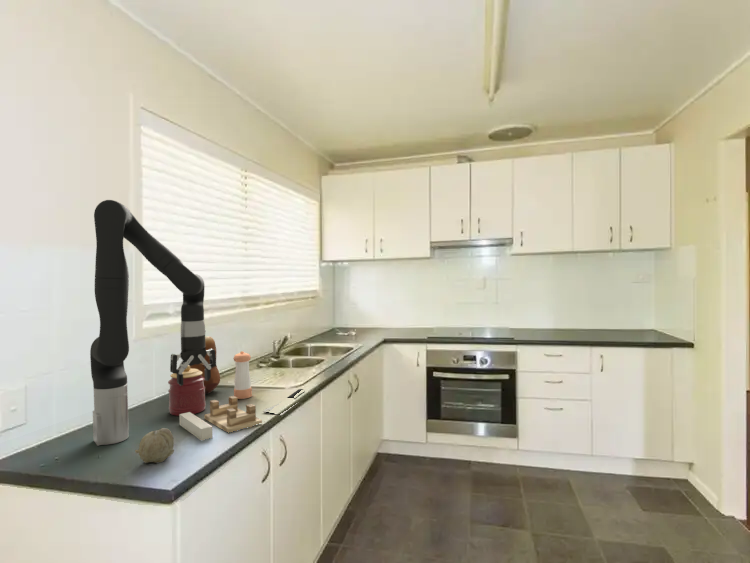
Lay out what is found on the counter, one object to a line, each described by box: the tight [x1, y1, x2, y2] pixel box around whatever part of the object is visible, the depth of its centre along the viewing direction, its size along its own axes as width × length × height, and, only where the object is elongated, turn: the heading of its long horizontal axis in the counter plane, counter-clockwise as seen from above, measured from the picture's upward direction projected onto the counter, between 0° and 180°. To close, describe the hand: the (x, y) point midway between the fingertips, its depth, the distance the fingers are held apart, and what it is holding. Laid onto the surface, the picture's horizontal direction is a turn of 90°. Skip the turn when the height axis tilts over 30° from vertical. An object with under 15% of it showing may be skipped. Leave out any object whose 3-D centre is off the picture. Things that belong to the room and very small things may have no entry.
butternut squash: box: [189, 335, 221, 395], centre depth 193 cm, size 14×13×25 cm
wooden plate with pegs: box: [204, 395, 263, 434], centre depth 156 cm, size 20×12×6 cm, turn 42°
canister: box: [167, 365, 207, 417], centre depth 169 cm, size 13×13×18 cm
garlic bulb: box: [134, 427, 175, 464], centre depth 124 cm, size 9×8×10 cm
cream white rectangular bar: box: [178, 412, 213, 441], centre depth 148 cm, size 20×4×4 cm, turn 42°
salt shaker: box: [233, 350, 253, 400], centre depth 188 cm, size 7×7×19 cm
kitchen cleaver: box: [262, 388, 304, 416], centre depth 179 cm, size 31×2×10 cm
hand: (194, 382), depth 147 cm, fingers open, 8 cm apart
